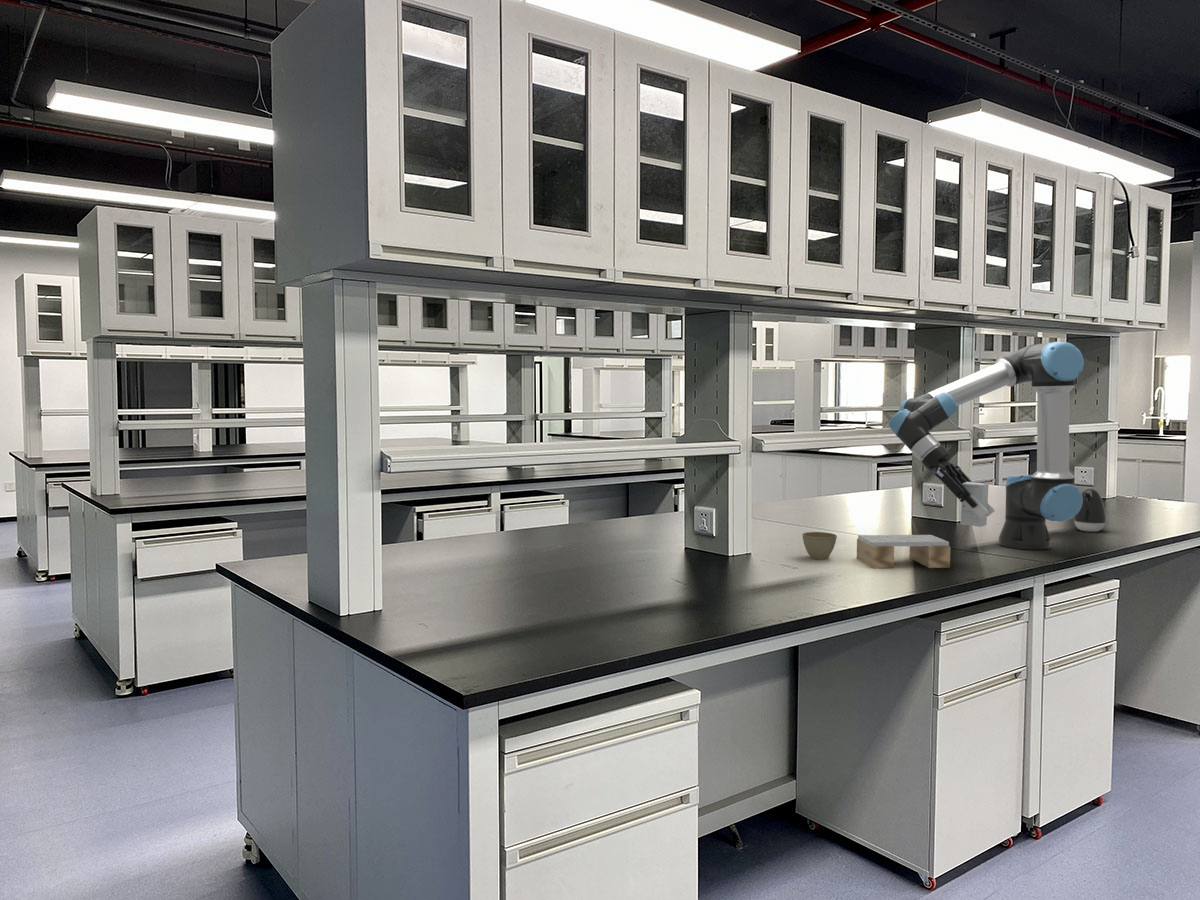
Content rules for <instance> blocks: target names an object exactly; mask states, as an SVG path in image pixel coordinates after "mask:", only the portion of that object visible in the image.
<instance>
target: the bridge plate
mask: <svg viewBox="0 0 1200 900" xmlns="http://www.w3.org/2000/svg"><path fill="white" fill-rule="evenodd" d="M857 539H859V540H860V541H862V542H864V543H866V544H868V545H870V546H872V547H877V546H893V547H910V546H950V542H949V541H947V540H945V539H943V538H940V537H937V536H935V535H933V534H888V535H887V534H871V535H870V534H869V535H868V534H862V535H861V534H858V536H857Z"/></svg>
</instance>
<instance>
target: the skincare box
mask: <svg viewBox="0 0 1200 900" xmlns="http://www.w3.org/2000/svg"><path fill="white" fill-rule="evenodd" d="M962 485H963V486H964V487H965V488H966V490H967V491H968V492H969V493H970V496H971V495H973V496H974V497H975V498H976V499H977V500H978V501H979V502H980V503H981V504H982V505H983V506H984V507H985V508H986V510H987V505H988V503H989V488H990V487H989V483H985V482H974V481H972V482H965V483H963V484H962ZM960 503H961V506H960V525H963V526H971V527H980V528H981V527H985V526H987V522H988V517H987V514H986V515H985V516H984V517H983V518H980V517H979V516H978V515H977V514H976V513H975V512H974V511H973V510H972V509H971V507H970V506H969V505H968V504H967V503H966V502H965V500H964V501H963V502H960Z"/></svg>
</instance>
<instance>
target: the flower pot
mask: <svg viewBox="0 0 1200 900" xmlns="http://www.w3.org/2000/svg"><path fill="white" fill-rule="evenodd" d="M837 537H838V536H837V534H836V533H831V532H826V531H825V532H824V531H807V532H803V533H802V541H803V545H804V548H805V550H806V552H807V555H808V557H809V558H810V559H813V560H819V561H820V560H823V561H824V560H828V558H829V557H830V556H831V554H832V552H833V550H834V549H835V545H836V542H837Z"/></svg>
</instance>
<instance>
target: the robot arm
mask: <svg viewBox="0 0 1200 900" xmlns="http://www.w3.org/2000/svg"><path fill="white" fill-rule="evenodd" d="M1084 365H1085V361H1084V357H1083V354H1082V352H1081V350H1080V349H1079V348H1077V346H1076V345H1074V344H1073V343H1070V342H1067V341H1052V342H1044V343H1043V342H1042V343H1035V344H1030V345H1027V346H1024V347H1022V348H1021V349H1018V350H1015V351H1014V352H1011V353H1009V354H1007V355H1005V356H1003V357H1001V358H997V360H996V362H995V364H992V365H989V366H987V367H985V368H982V369H981V370H977V371H976V372H974V373H972V374H969V375H966V376H964V377H962V378H960V379H956V380H955V381H952V382H950V383H948V384H945V385H943V386H940V387H938V388H936V389H934V390H932V391H930V392H927V393H925V394H922V395H920V396H917V397H915V398H914V397H912V398H908V399H905V400H904V401H902V402H901V404H900V406H899V411H898V412H896V413H895V414H894V415H892V417H891V418H890V419H889V421H888V427H889V429H890V430H891V431H892V432H893V433H894V434H895V436H896V437H897V438H898V439H900V441H901V442H902V443H903V444H904V445H905V446H906V447H907V449H909V451H911V453H912V454H913V457H914V458H917V459H918V460H919V461H921V464H922V465H923V466H924V467H925V468H926V469H927V470H928V471H929V472H933V471H936V472H935V473H934V475H935V477H936V478H938V479H939V480H940V481H941V482H942V483H943V484H944V485H945V486H946V488H947V489H949V490H950V492H951V493H952V494H953V495H954V496H955V497H956V498H957V499H958V500H959V502H960V503H961V502H963V501H964V500H965V502H966V503H967V504H968V505H969V506H970V507H971V509H972V510H973V511H974V512H975V513H976V514H977V515H978V516H979V517H980V518H983V517H984V516H985V515H986V514H987V518H988V517H989V516H990V515H992V514H993V513H994V512H995V511H996V510H995V508H994V507H993V506H992V505H991V504H990V503H989V502H988V505H987V510H986V508H985V507H984V506H983V505H982V504H981V503H980V502H979V501H978V500H977V499H976V498H975V497H974V496H973V495H971V496H970V493H969V492H968V491H967V490H966V488H965V487H964V486H963V485H962V484H963V483H965V482H973V481H972V480H971V479H970V478H969V476H967V475H966V473H965V472H964V471H963V470H962V468H961V467H960V466H959V465H956V466H955V464H953V463H951V462H950V461H949V459H950V457H951V454H950V453H949V451H948V450H947V449H946V448H945V447H944V446H942V445H941V442H939V441H938V440H937V438H935V437H934V436H933V434H932V433H931V431H932V430H933V429H934V428H936V427H938V426H939V425H941V424H942V423H944V422H945V421H947V420H948V419H950V418H952V417H953V416H954V415H955V414H956V413H957V412H958V410H959V406H961V405H963V404H966V403H968V402H970V401H973V400H975V399H977V398H980V397H982V396H985V395H987V394H989V393H991V392H993V391H997V390H998V389H1001V388H1003V387H1010V388H1011V387H1014V386H1016V385H1019V384H1023V383H1029V382H1031V388H1032V389H1033V390H1034V391H1035V392H1036V395H1037V396H1036V397H1037V399H1036V400H1037V401H1036V403H1037V407H1036V409H1037V410H1036V411H1037V412H1036V414H1037V416H1036V420H1037V421H1036V428H1037V429H1036V431H1037V432H1036V433H1037V435H1036V471H1035V472H1034V473H1032V474H1025V475H1023V474H1019V475H1017V474H1016V475H1009V476H1008V477H1007V478H1006V483H1005V517H1004V519H1005V521H1004V524H1003V526H1002V528H1001V531H1000V533H999V536H998V545H1000V546H1002V547H1006V548H1011V549H1018V550H1019V549H1020V550H1036V551H1037V550H1049V549H1051V548H1052V540H1051V536H1050V533H1049V530H1048V526H1047V524H1046V521H1047V520H1048V521H1050V522H1065V521H1070V520H1071V519H1073V517H1074V516H1075V515H1076V514H1078V512H1079V511H1080V509H1081V507H1082V503H1083V497H1082V491H1080V489H1079V488H1078V487H1077V486H1076V485H1075V479H1076V478H1075V475H1074V474H1072V473H1071V472H1070V393H1071V391H1072V390H1073V389H1074V388H1075V387H1076V379H1077V378H1078V377H1079V376H1080V374H1081V373H1082V372H1083V369H1084V367H1085V366H1084Z"/></svg>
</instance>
